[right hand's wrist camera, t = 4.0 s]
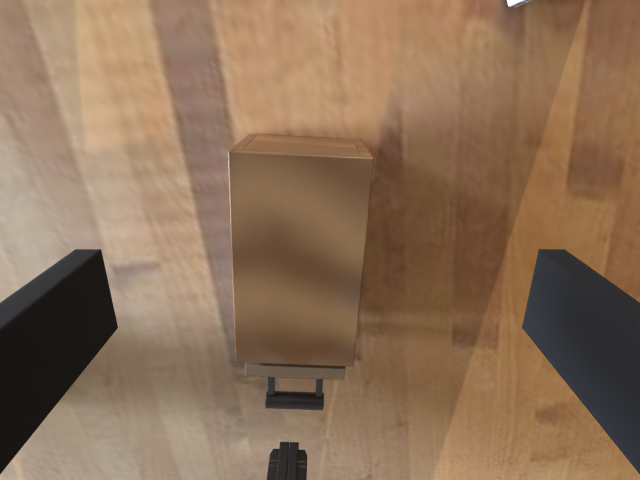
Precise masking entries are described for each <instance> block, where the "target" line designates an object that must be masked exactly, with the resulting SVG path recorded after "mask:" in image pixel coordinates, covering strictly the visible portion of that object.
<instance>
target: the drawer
mask: <svg viewBox="0 0 640 480" xmlns="http://www.w3.org/2000/svg"><path fill="white" fill-rule="evenodd" d="M245 376H260V377H268V391H267V393H266V403H265V406H266V408H275V409H302V410H323V405H324V393H322V385H323V379H339V380H344V377H345V366H325V365H299V364H273V363H247V362H246V363H245ZM275 377H286V378H313V379H316V392H289V391H275Z"/></svg>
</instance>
